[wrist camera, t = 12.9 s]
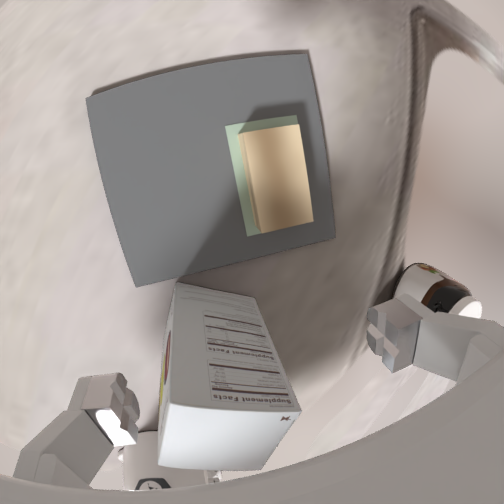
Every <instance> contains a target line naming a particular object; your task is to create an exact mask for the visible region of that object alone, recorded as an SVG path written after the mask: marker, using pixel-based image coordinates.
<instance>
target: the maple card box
mask: <svg viewBox="0 0 504 504" xmlns="http://www.w3.org/2000/svg"><path fill="white" fill-rule="evenodd" d="M238 140H239V145H240V150H241V155H242V160H243V165H244V170H245V176H246V181H247V186H248V191H249V196H250V201H251V207H252V212H253V217H254V222H255V226H256V227H257V228H258V229H259V231H260V232H261V233H266V232H271V231H275V230H279V229H283V228H287V227H292V226H296V225H300V224H305V223H309V222H313V213H312V205H311V198H310V190H309V183H308V176H307V170H306V163H305V157H304V151H303V144H302V139H301V133H300V127H299V124H297V125H289V126H282V127H275V128H269V129H263V130H256V131H251V132H245V133H241V134H238Z"/></svg>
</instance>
